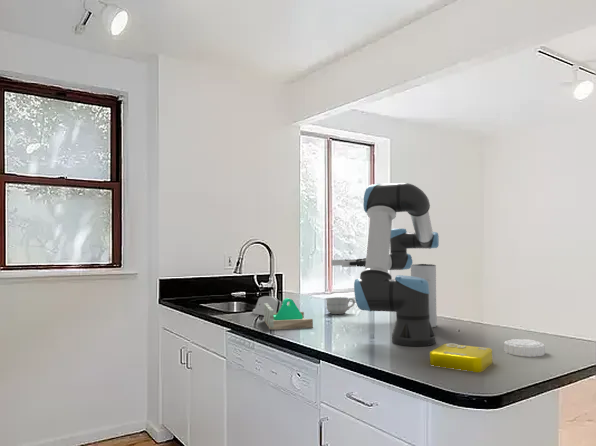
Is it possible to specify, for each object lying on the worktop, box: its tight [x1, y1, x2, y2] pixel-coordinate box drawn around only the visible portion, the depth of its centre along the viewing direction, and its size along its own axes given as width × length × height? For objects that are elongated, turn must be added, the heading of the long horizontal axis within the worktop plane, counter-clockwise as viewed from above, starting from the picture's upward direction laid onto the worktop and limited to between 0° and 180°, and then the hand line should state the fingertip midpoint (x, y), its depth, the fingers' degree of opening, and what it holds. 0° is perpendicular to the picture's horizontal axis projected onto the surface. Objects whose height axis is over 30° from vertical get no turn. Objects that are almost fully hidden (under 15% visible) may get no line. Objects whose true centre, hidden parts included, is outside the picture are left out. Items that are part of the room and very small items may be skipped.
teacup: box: [325, 296, 356, 315], centre depth 249 cm, size 14×11×8 cm
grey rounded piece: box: [251, 295, 282, 316], centre depth 251 cm, size 17×5×10 cm, turn 40°
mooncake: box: [503, 338, 546, 358], centre depth 162 cm, size 12×12×4 cm
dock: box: [263, 303, 314, 331], centre depth 221 cm, size 22×18×8 cm
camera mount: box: [274, 297, 303, 320], centre depth 222 cm, size 12×8×10 cm, turn 108°
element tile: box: [429, 343, 493, 373], centre depth 149 cm, size 15×15×5 cm
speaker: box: [410, 263, 438, 328], centre depth 212 cm, size 11×10×26 cm
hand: (336, 263), depth 229 cm, fingers open, 13 cm apart
